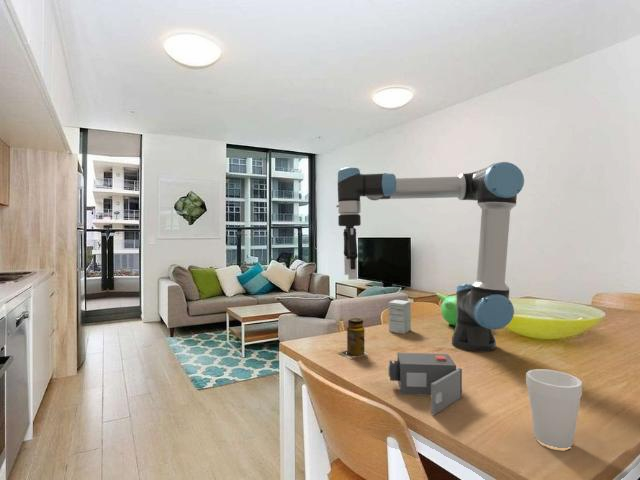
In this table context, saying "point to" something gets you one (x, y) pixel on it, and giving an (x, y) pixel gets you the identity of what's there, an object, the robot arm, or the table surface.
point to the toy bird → (449, 308)
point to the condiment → (355, 339)
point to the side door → (446, 391)
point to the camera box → (419, 371)
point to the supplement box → (399, 316)
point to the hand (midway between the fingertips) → (350, 276)
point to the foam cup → (554, 405)
